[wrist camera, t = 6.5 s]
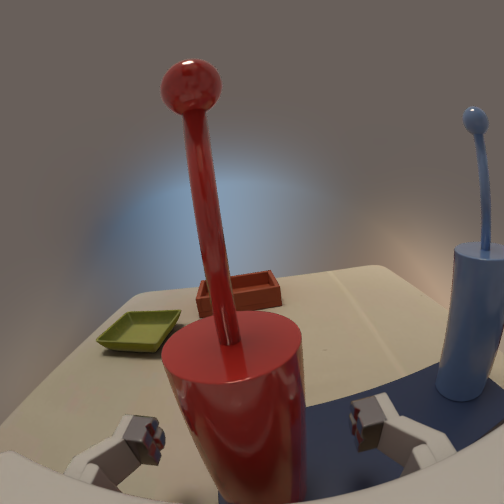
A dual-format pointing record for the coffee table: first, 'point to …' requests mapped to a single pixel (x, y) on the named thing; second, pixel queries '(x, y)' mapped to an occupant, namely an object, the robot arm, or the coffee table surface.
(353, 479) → the navy board
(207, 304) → the red tray
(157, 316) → the green tray
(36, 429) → the coffee table surface
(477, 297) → the blue cylinder with rod
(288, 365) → the red ball-topped plunger
